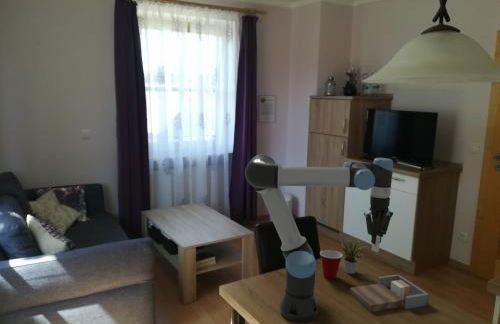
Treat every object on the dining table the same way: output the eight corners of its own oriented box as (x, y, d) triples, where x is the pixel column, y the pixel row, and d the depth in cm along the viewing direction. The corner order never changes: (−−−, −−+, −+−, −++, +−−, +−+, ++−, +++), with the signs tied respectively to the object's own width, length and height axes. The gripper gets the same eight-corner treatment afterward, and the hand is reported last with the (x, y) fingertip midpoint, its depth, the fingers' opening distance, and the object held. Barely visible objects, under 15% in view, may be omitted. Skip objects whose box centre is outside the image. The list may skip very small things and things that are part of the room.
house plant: (367, 267, 197) (369, 237, 194) (367, 279, 184) (370, 247, 181) (338, 263, 201) (340, 233, 198) (337, 275, 188) (339, 243, 185)
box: (406, 309, 159) (407, 297, 158) (377, 287, 177) (378, 277, 176) (427, 305, 162) (429, 294, 161) (397, 284, 180) (398, 274, 179)
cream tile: (400, 287, 165) (405, 287, 165) (391, 281, 170) (395, 280, 171) (398, 300, 166) (403, 299, 166) (389, 293, 171) (394, 293, 172)
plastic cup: (339, 272, 191) (341, 249, 189) (342, 282, 180) (344, 258, 178) (317, 270, 192) (318, 248, 190) (319, 281, 181) (320, 257, 179)
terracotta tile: (405, 286, 165) (410, 286, 166) (396, 280, 171) (400, 279, 172) (404, 299, 166) (408, 298, 167) (394, 293, 172) (399, 292, 173)
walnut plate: (370, 312, 156) (370, 305, 155) (349, 294, 170) (350, 287, 169) (402, 306, 161) (403, 299, 160) (380, 289, 175) (380, 283, 174)
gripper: (372, 199, 151) (367, 255, 155) (399, 197, 156) (394, 252, 159) (361, 194, 158) (356, 248, 162) (387, 193, 163) (382, 245, 167)
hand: (375, 250), depth 161 cm, fingers closed
